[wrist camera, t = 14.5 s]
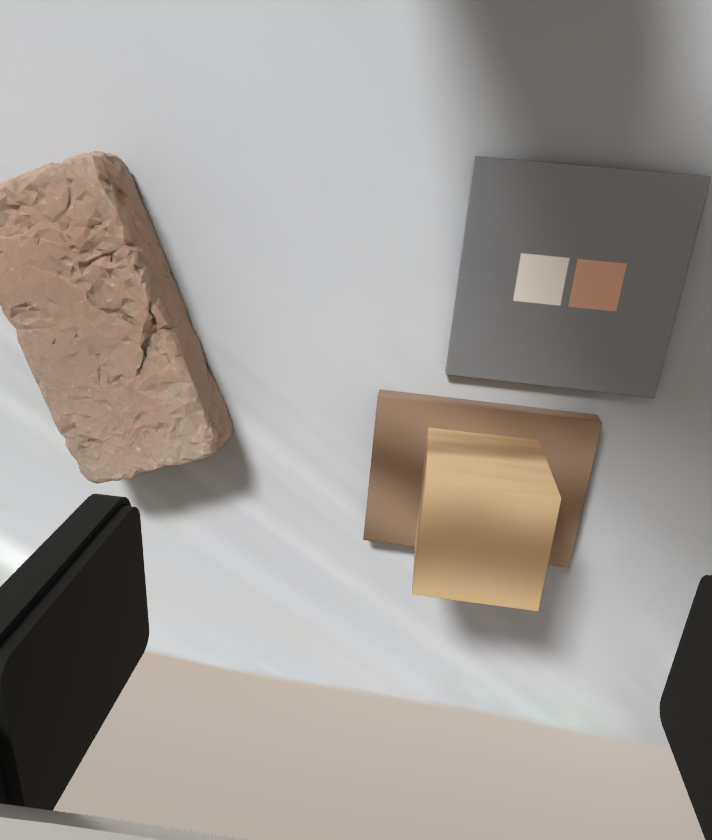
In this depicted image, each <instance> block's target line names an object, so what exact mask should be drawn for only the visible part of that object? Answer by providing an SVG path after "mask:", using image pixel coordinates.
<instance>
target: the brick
mask: <svg viewBox="0 0 712 840" xmlns="http://www.w3.org/2000/svg"><path fill="white" fill-rule="evenodd" d="M170 271H171V269H170V266H169V264H168V261H167V259H166V256H165V254H164V251H163V249H162V247H161V246H160V243H159V240H158V237H157V234H156V232H155V230H154V228H153V225H152V223H151V220H150V218H149V215H148V213H147V211H146V209H145V207H144V205H143V203H142V201H141V198H140V196H139V193H138V191H137V189H136V186H135V182H134V179H133V178H132V176H131V174H130V172H129V169H128V167H127V166H126V165H125V163H124V162H123V161H122V160H121V159H120V158H119V157H118V156H116V155H113V154H109V153H104V152H99V151H94V152H91V153H89V154H81V155H78V156H75V157H72V158H68V159H66V160H65V161H64V162H62V163H60V164H55V163H51V164H48V165H45V166H42V167H40V168H37V169H35V170H32V171H30V172H27V173H25V174H22V175H20V176H17V177H15V178H13V179H10V180H8V181H5V182H3V183H1V184H0V305H1V306H2V310H3V313H4V314H5V316H6V317H7V319H8V320H9V322H10V323H11V324H12V325H13V326H14V327H15V328H16V330H17V338H18V341H19V344H20V346H21V348H22V350H23V353H24V355H25V358H26V360H27V362H28V365H29V367H30V369H31V371H32V374H33V376H34V378H35V380H36V382H37V383H38V385H39V388H40V390H41V393H42V395H43V397H44V400H45V402H46V404H47V406H48V408H49V410H50V412H51V414H52V417H53V420H54V422H55V424H56V426H57V428H58V430H59V432H60V434H61V435H62V436H64V437H65V439H66V446H67V448H68V450H69V452H70V453H71V455H72V456H73V457H74V458H75V459H76V461H77V462H78V465H79V468H80V472H81V473H82V474H83V475H84V477H85V478H86V479H87V480H89V481H91V482H94V483H103V482H108V481H119V480H121V479H131V478H133V477H134V476H136V475H138V474H140V473H145V472H148V471H151V470H156V469H159V468H163V467H167V466H171V465H185V464H187V463H189V462H193V461H197V460H201V459H205V458H208V457H210V456H211V455H213V454H214V453H215V452H216V451H217V450H219V449H220V447H221V446H222V445H223V444H224V443H226V440H227V439H228V438H230V437H231V436H232V433H233V428H232V420H231V419H230V417H229V414H228V411H227V405H226V403H225V400H224V398H223V396H222V394H221V392H220V389H219V387H218V385H217V383H216V381H215V379H214V377H213V376H212V375H211V373H210V372H209V371H208V370H207V364H206V361H205V357H204V353H203V349H202V346H201V343H200V340H199V338H198V336H197V335H196V333H195V330H194V329H193V327H192V325H191V323H190V321H189V317H188V313H187V308H186V305H185V303H184V301H183V299H182V297H181V295H180V292H179V289H178V286H177V284H176V282H175V280H174V278H173V277H172V275H171V274H170Z"/></svg>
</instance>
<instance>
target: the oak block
mask: <svg viewBox="0 0 712 840" xmlns="http://www.w3.org/2000/svg"><path fill="white" fill-rule="evenodd" d="M560 503H561V496H560V494H559V491H558V488H557V486H556V483H555V481H554V478H553V475H552V473H551V470H550V468H549V465H548V462H547V460H546V457H545V454H544V452H543V449H542V447H541V444H540V441H539V440H534V439H525V438H516V437H507V436H498V435H489V434H480V433H471V432H463V431H454V430H445V429H436V428H428V434H427V442H426V450H425V459H424V467H423V475H422V483H421V491H420V499H419V508H418V516H417V524H416V540H415V555H414V571H413V586H412V594H413V595H420V596H428V597H435V598H443V599H450V600H458V601H465V602H473V603H480V604H488V605H495V606H503V607H510V608H518V609H525V610H533V611H538V609H539V604H540V599H541V595H542V590H543V585H544V580H545V575H546V570H547V566H548V561H549V556H550V551H551V546H552V541H553V537H554V532H555V527H556V522H557V517H558V512H559V508H560Z"/></svg>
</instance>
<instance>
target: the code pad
mask: <svg viewBox="0 0 712 840" xmlns="http://www.w3.org/2000/svg"><path fill="white" fill-rule="evenodd" d="M710 179H711V177H709V176H697V175H686V174H674V173H663V172H651V171H640V170H628V169H617V168H605V167H594V166H582V165H571V164H559V163H548V162H536V161H525V160H513V159H502V158H490V157H479V156H475V160H474V168H473V175H472V182H471V189H470V197H469V204H468V211H467V219H466V226H465V233H464V240H463V248H462V255H461V262H460V269H459V277H458V284H457V291H456V299H455V306H454V313H453V320H452V328H451V335H450V342H449V349H448V357H447V364H446V374H448V375H457V376H465V377H474V378H483V379H492V380H500V381H509V382H518V383H527V384H536V385H544V386H553V387H562V388H571V389H579V390H588V391H597V392H606V393H615V394H623V395H632V396H641V397H650V398H654V396H655V392H656V389H657V385H658V381H659V377H660V373H661V369H662V365H663V361H664V358H665V354H666V350H667V346H668V342H669V338H670V334H671V330H672V326H673V323H674V319H675V315H676V311H677V307H678V303H679V299H680V295H681V291H682V288H683V284H684V280H685V276H686V272H687V268H688V264H689V260H690V257H691V253H692V249H693V245H694V241H695V237H696V233H697V229H698V225H699V222H700V218H701V214H702V210H703V206H704V202H705V198H706V194H707V190H708V187H709V183H710Z"/></svg>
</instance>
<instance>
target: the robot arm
mask: <svg viewBox="0 0 712 840" xmlns="http://www.w3.org/2000/svg"><path fill="white" fill-rule="evenodd" d="M148 637H149V622H148V609H147V597H146V584H145V572H144V559H143V546H142V534H141V521H140V513H139V510H138V508H136V507H131V504H130V502H129V499H127V498H126V497H118V496H110V495H101V494H92V495H91V496H89V497H88V498H87V499H86V500H85V501H84V502H83V503H82V504H81V505H80V506H79V507H78V508H77V509H76V510H75V511H74V512H73V513H72V514H71V515H70V516H69V517H68V519H67V520H66V521H65V522H64V523H63V524H62V525H61V526H60V527H59V528H58V529H57V530H56V531H55V532H54V533H53V534H52V535H51V536H50V537H49V538H48V539H47V540H46V541H45V542H44V543H43V544H42V545H41V546H40V547H39V548H38V549H37V550H36V551H35V552H34V553H33V554H32V555H31V556H30V557H29V558H28V559H27V560H26V561H25V562H24V563H23V564H22V565H21V566H20V567H19V568H18V569H17V570H16V572H15V573H14V574H13V575H12V576H11V577H10V578H9V579H8V580H7V581H6V582H5V583H4V584H3V585H2V586H1V587H0V840H246V839H239V838H233V837H226V836H220V835H214V834H207V833H200V832H194V831H187V830H181V829H175V828H168V827H162V826H155V825H149V824H142V823H136V822H130V821H123V820H116V819H109V818H103V817H95V816H88V815H81V814H73V813H66V812H58V811H53V809H54V807H55V805H56V804H57V802H58V800H59V799H60V797H61V795H62V793H63V792H64V790H65V788H66V786H67V785H68V783H69V781H70V780H71V778H72V776H73V774H74V773H75V771H76V769H77V767H78V766H79V764H80V762H81V761H82V758H83V757H84V755H85V754H86V752H87V750H88V748H89V747H90V745H91V743H92V741H93V740H94V738H95V736H96V735H97V733H98V731H99V729H100V728H101V726H102V724H103V722H104V720H105V719H106V717H107V715H108V714H109V712H110V710H111V708H112V707H113V705H114V703H115V702H116V700H117V698H118V696H119V694H120V693H121V691H122V689H123V688H124V686H125V684H126V683H127V681H128V679H129V677H130V676H131V674H132V672H133V670H134V668H135V667H136V665H137V663H138V662H139V660H140V658H141V657H142V655H143V653H144V651H145V649H146V646H147V642H148ZM660 718H661V723H662V726H663V728H664V731H665V734H666V736H667V739H668V742H669V744H670V747H671V750H672V752H673V755H674V757H675V760H676V763H677V765H678V768H679V771H680V773H681V776H682V779H683V781H684V784H685V787H686V789H687V792H688V795H689V797H690V800H691V803H692V805H693V808H694V810H695V813H696V816H697V819H698V821H699V824H700V826H701V829H702V832H703V834H704V837H705V839H706V840H712V575H711V576H710V575H705V576H703V577H702V578H701V580H700V582H699V585H698V588H697V591H696V594H695V597H694V600H693V603H692V606H691V609H690V612H689V615H688V618H687V621H686V624H685V627H684V631H683V634H682V637H681V640H680V643H679V646H678V649H677V652H676V655H675V658H674V661H673V664H672V667H671V670H670V673H669V676H668V679H667V682H666V685H665V688H664V691H663V694H662V697H661V701H660Z"/></svg>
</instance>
